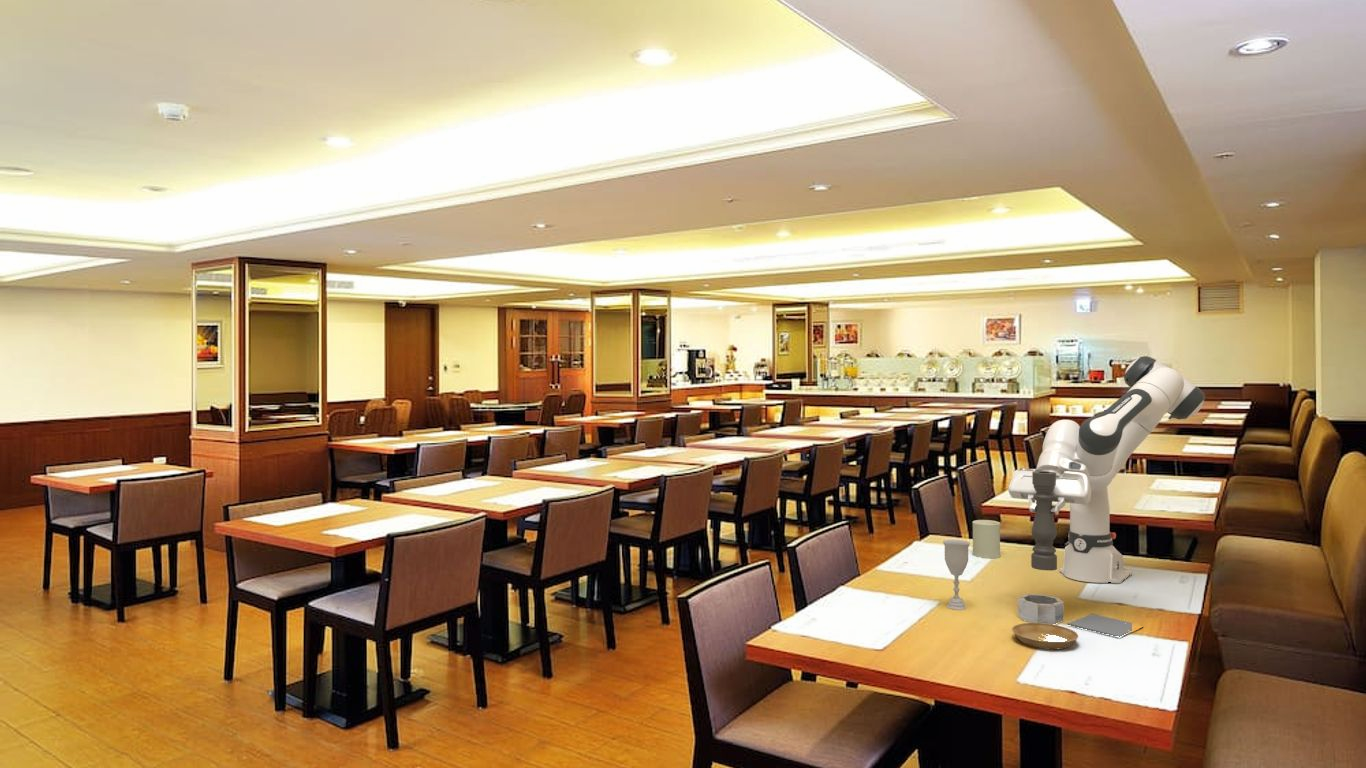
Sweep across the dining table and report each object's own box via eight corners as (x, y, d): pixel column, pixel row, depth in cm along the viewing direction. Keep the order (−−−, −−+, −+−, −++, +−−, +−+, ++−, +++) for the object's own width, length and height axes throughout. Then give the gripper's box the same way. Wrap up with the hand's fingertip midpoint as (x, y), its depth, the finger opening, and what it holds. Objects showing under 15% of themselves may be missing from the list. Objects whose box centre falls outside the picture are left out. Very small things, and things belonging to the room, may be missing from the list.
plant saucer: (998, 637, 209) (998, 626, 208) (1045, 629, 214) (1045, 619, 214) (1043, 656, 195) (1043, 645, 195) (1092, 648, 200) (1092, 637, 200)
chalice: (971, 605, 234) (971, 540, 234) (969, 611, 228) (968, 545, 228) (944, 602, 237) (944, 538, 237) (940, 608, 231) (940, 543, 231)
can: (997, 559, 286) (997, 524, 286) (969, 556, 291) (969, 521, 291) (1003, 554, 294) (1003, 520, 293) (976, 551, 299) (976, 517, 298)
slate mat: (1092, 615, 224) (1092, 613, 224) (1143, 627, 213) (1143, 625, 213) (1067, 625, 216) (1067, 623, 216) (1119, 638, 205) (1119, 636, 205)
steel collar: (1032, 610, 229) (1032, 591, 229) (1069, 619, 221) (1069, 600, 221) (1012, 617, 223) (1012, 598, 223) (1048, 627, 215) (1048, 607, 215)
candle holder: (1027, 565, 224) (1027, 471, 223) (1049, 564, 224) (1049, 470, 224) (1038, 570, 218) (1038, 474, 217) (1061, 570, 218) (1061, 473, 218)
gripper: (1012, 460, 232) (1000, 501, 225) (1092, 465, 219) (1082, 508, 212) (1017, 475, 236) (1005, 515, 229) (1096, 480, 223) (1087, 523, 216)
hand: (1043, 512), depth 220 cm, fingers closed on candle holder, 4 cm apart
